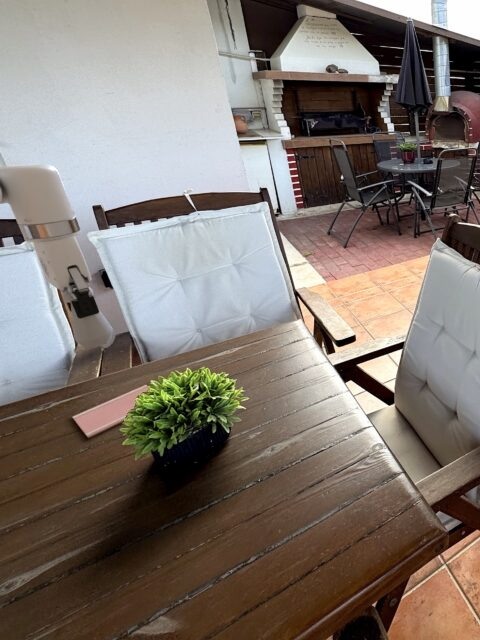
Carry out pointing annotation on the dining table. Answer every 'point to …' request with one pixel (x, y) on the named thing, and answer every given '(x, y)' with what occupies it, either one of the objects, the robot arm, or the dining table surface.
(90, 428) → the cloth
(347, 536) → the dining table surface
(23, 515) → the dining table surface
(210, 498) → the dining table surface
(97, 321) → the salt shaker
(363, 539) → the dining table surface
